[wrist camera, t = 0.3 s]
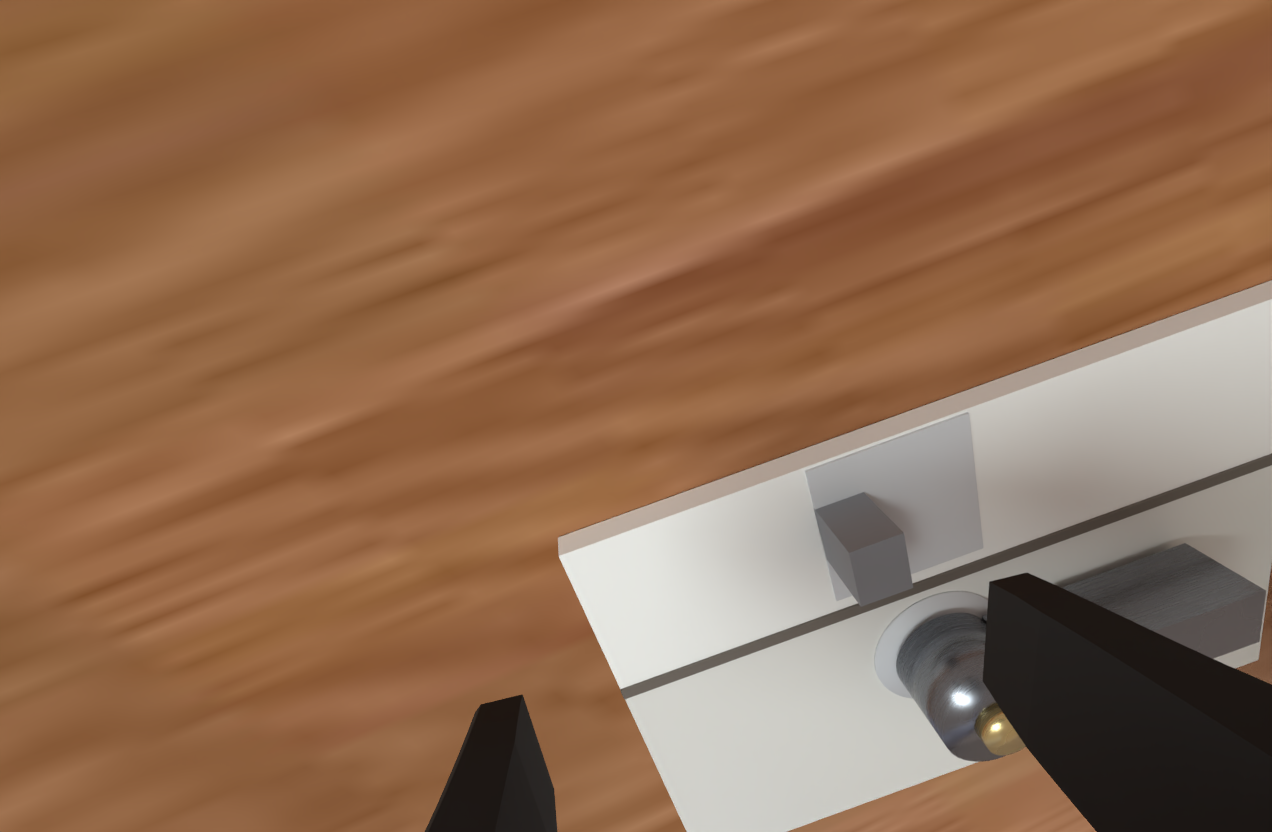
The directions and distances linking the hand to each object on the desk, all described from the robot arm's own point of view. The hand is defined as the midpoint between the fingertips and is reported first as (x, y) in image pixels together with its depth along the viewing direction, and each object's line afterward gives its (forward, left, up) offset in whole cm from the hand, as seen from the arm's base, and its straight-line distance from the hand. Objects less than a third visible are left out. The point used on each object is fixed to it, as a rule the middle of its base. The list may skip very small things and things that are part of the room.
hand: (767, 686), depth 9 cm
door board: (-10, -8, -10) cm, 16 cm away
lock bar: (-11, -11, -9) cm, 18 cm away
